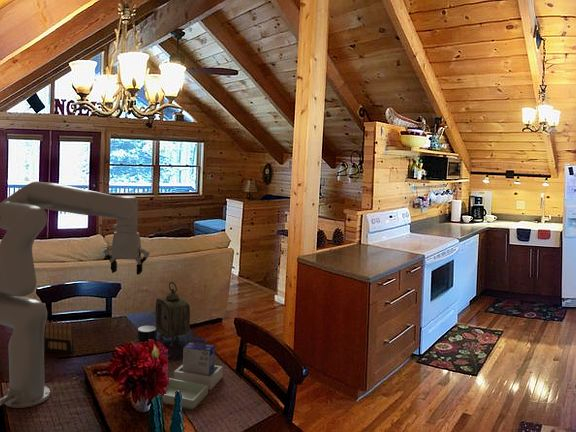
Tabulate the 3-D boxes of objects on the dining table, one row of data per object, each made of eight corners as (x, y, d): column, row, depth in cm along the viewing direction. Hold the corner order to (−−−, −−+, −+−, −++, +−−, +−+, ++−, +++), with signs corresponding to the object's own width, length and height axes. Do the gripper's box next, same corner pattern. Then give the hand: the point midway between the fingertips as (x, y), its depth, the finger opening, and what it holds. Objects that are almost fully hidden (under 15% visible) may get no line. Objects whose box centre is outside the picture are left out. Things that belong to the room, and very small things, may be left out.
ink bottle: (133, 355, 184) (133, 325, 182) (156, 352, 187) (157, 322, 186) (136, 366, 175) (136, 334, 173) (161, 363, 179) (161, 331, 177)
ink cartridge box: (214, 378, 169) (216, 338, 167) (209, 385, 163) (210, 344, 161) (188, 374, 171) (189, 335, 169) (181, 381, 165) (182, 340, 163)
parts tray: (193, 409, 148) (193, 400, 147) (151, 401, 151) (151, 392, 151) (207, 394, 158) (208, 385, 157) (168, 386, 161) (168, 377, 161)
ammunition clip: (44, 350, 184) (43, 320, 183) (47, 348, 186) (46, 318, 184) (70, 353, 183) (70, 322, 181) (73, 351, 185) (73, 321, 183)
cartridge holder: (210, 389, 161) (211, 378, 160) (173, 382, 164) (173, 371, 164) (222, 377, 170) (222, 366, 169) (187, 370, 173) (187, 360, 173)
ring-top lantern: (155, 337, 202) (156, 279, 199) (175, 333, 208) (176, 276, 205) (169, 349, 191) (170, 287, 188) (190, 345, 196) (192, 285, 193)
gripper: (100, 228, 180) (100, 273, 182) (145, 231, 179) (145, 276, 181) (109, 225, 188) (108, 269, 190) (152, 228, 186) (152, 272, 189)
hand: (126, 272), depth 185 cm, fingers open, 9 cm apart
